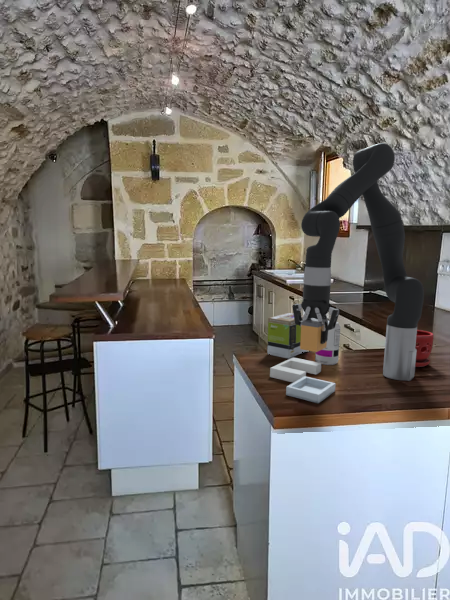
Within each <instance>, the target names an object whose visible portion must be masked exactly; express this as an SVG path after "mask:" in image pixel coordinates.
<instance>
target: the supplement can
mask: <svg viewBox="0 0 450 600" xmlns="http://www.w3.org/2000/svg"><path fill="white" fill-rule="evenodd" d="M327 320H328V319H327ZM329 321H330V319H329V320H328V325H329ZM340 339H341V325H340V322H338V321H337V322H336V326H335V328H334V329H331V330H328V340H327V346H326V348H324V349H322V350H320V351H318V352H314V353H315V354H314V355H315V356H314V358H315V359H314V360H315V362H318V363H321V365H326V366H334V365H336V364H338V363H339V358H340V357H339V356H340V355H339V354H340V341H341V340H340Z"/></svg>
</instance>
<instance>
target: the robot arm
mask: <svg viewBox="0 0 450 600" xmlns="http://www.w3.org/2000/svg"><path fill="white" fill-rule="evenodd" d="M395 160H396V158H395V152H394V149H393V148H392V147H391V145H390V144H387V143H383V142H379V143H377V144H373V145H371V146H368V147H366V148H362V149H360V150H358V151H356V152H355V153H354V155H353V157H352V166H353V167H352V168H353V171H354V173H353V174H352V175H350V176H349V177H347V178H346V179H344V180H343V181H342V182H340V184H338V185H337V186H336V187H335V188H334V189H333V190H332V191H331V193H330V194H328V196H326V198H325V199H324V200H322V201H320V202H318V203H317V204H315V205H314V206H313V207H311V208H310V209H309V210H308V211H306V213H305V214H304V216H303V217H302V219H301V230H302V233H304V234H305V236H308V237H312V238H313V237H315V238H316V237H317V238H319V239H318V240H317V243H316V244H313V245H309V246H307V248H306V252H305V265H304V267H305V268H304V272H303V282H302V283H303V285H302V287H303V288H302V302H300V303H295V304H294V303H293V304H292V307H291V308H292V314H294V320H295V324H296V325H299V326H300V327H301V323H302V321H307V320H310V319H311V318H315V319H318V321H319V323H321V329H322V331H321V341H320V343H321V344H324V343H325V342H326V341H327V340H328V330H331V329H334V328H335V326H336V322H338V320H339V319H338V318H339V316H340V312H341V310H340V308H334V307H331V304H330V300H331V287H332V285H331V284H332V283H331V282H332V256H333V255H332V253H333V251H334V248H335V245H336V240H337V238H338V235H339V232H340V229H341V228H340V227H341V221H340V218H342V217H344V215H346V214H347V212H349V210H350V209H351V208H352V207H353V206H354V204H355V203H356V202H357V201H358V200H359V198H361V197H363V200H364V203H365V207H366V210H367V214H368V217H369V223H370V226H371V227H370V228H371V231H372V236H373V239H374V242H375V246H376V250H377V254H378V257H379V261H380V264H381V271H382V278H383V283H384V284H383V285H384V291H385V295H386V296H387V299H389V300H390V301H391V302H392V303H394V309H393V312H392V314H389V315H388V316H387V318H386V332H385V343H384V357H383V368H382V375H383V376H384V377H386V378H388V379H390V380H391V379H392V380H397V381H408V382H410V381H412V380H413V379H414V377H415V373H416V367H415V363H416V352H417V349H415V345H417V343H416V334H417V330H418V325H419V321H420V319H421V317H422V313H423V305H424V298H425V291H424V286H423V283H422V282H421V280H419V279H417V278H414V277H412V276H411V277H410V276H408V274H407V271H406V267H405V264H404V255H403V254H404V250H405V249H404V248H405V244H406V243H405V242H406V241H405V240H406V233H405V227H404V223H403V219H402V215H401V213H400V211H399V210H398V209H397V208H396V206H394V204H393V203H392V202H391V201H390V200H388V198H387V197H386V196H385V195H384V193H383V192H382V190H381V189H380V186H379V183H378V180H380V179H381V178H382V177H384V176H386V174H388V173H389V172H390V171H391V170H392V169H393V167H394V165H395ZM301 311H304V312H303V313H304V314H303V315H304V316H303V319H302V316H301V315H302V312H301ZM327 314H329V315H330V319H329V320H330V321H329V325H328V323H327V321H328V317H327Z"/></svg>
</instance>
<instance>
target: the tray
mask: <svg viewBox="0 0 450 600" xmlns="http://www.w3.org/2000/svg"><path fill="white" fill-rule="evenodd" d="M285 389H286V390H285V391H286V392H285V395H286V396H289V397H293V398H296V399H300V400H305V401H308V402H310V403H311V402H312V403H315V404H320V403H321V402H322V401H324V400H325V399H327V398H328V397H330V396H331V395H332V394H334V392H336V382H332V381H327V380H323V379H318V378H315V377H310V376H307V375H306V376H304V377H302V378H301V379H299V380H297V381H295V382H294V383H293V382H291V383H290V384H289V385H287V386H286V388H285Z"/></svg>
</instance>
